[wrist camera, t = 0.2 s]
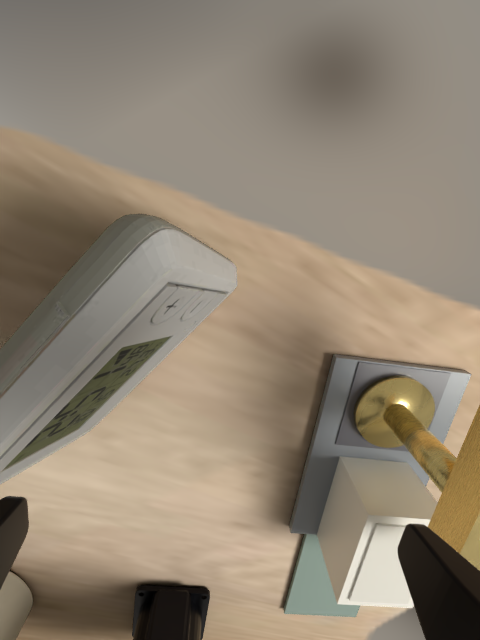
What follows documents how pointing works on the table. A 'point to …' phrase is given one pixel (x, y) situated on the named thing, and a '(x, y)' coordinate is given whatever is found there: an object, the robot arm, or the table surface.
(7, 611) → the travel mug
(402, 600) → the cover
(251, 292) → the table surface
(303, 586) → the pad
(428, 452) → the brass door handle
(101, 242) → the digital clock
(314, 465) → the base plate
